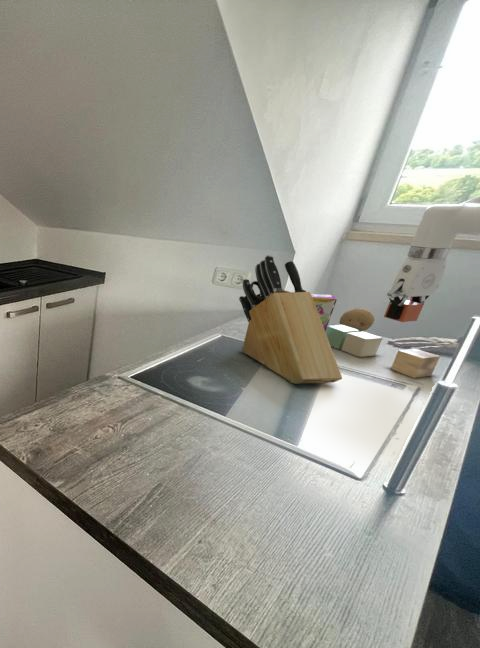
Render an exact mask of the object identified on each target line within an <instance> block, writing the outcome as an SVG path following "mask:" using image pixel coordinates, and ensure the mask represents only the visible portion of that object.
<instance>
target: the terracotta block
mask: <svg viewBox="0 0 480 648" xmlns="http://www.w3.org/2000/svg"><path fill="white" fill-rule="evenodd" d="M424 304H425V303H424ZM424 304H422V303H417V302H413V301H410V299H409V300H408V299H407V300H406V301H405V303H404V304H403V306H405V307H404V309H403V311H402V314H401V316H400V319H398V320H395V319H392V318H388V317H386V314H387V312H388V309H389V307H390V301H389V303H388V305H387V307H386V310H385V313H384V315H383V318H385V319H390V320H393V321H396V322H400V323H409V322H417V321H418V319H419V317H420V315H421V312H422V309H423V307H424Z"/></svg>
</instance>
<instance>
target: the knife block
mask: <svg viewBox="0 0 480 648" xmlns="http://www.w3.org/2000/svg"><path fill="white" fill-rule="evenodd" d="M277 267H278V266H277V265H276V263H275V260H274V256H273V255H269V254H268V255H267V254H266V256H264V259H262V260H261V261H260V262H259V263H257V264H256V265H255V268H254V271H255V277H256V280H254V281H252V282H251V283H250V279H249V278H244V279H243V280H242V288H243V289H242V290H243V293H244V295H245V296H243V295H241V296H239V298H238V300H239V302H240V304H241V307H242V310H243V313H244V316H245V317H246V320H247V322H248V324H247V328H246V332H245V337H244V340H243V346H242V348H241V352H242V353H244V354H245V355H247V356H249V357H250V358H252V359H254V360H256V361H257V362H259V363H260V364H263V365H265V367H267V368H268V369H270V370H271V371H273V372H275V373H276V374H278V375H280V376H281V377H282V378H285V379H286V380H287V381H289V382H290V383H292V384H296V385H297V384H298V385H299V384H331V383H336V382H338V381H340V380H342V379H343V376H342V374H341V371H340V368H339V365H338V362H337V360H336V357H335V354H334V352H333V349H332V346H330V343H329V340H328V338H327V335H326V332H325V330H324V327H323V324H322V322H321V319H320V317H319V314H318V311H317V309H316V306H315V303H314V301H313V298H312V296H311V294H312V293H311V292H310V291H307V290H304V289H303V288H302V281H301V277H300V274H299V271H298V268H297V266H296V264H295V262H294V261H293V260H292V261H291V260H290V261H287V262H285V264H284V269H285V271H286V272H287V274H288V277H289V280H290V282H291V284H292V286H293V288H294V291H288V290H285V289H284V288H283V287H282V280H281V275H280V272H279V270H278V268H277ZM254 285H255V286H257V288H258V290H259V293H258V294H256V293H255V290H254Z"/></svg>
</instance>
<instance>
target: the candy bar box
mask: <svg viewBox="0 0 480 648" xmlns="http://www.w3.org/2000/svg"><path fill="white" fill-rule="evenodd" d="M311 296H312V298H313V301H314V303H315V306H316V309H317V311H318V314H319V317H320V319H321V322H322V324H323V327H324V330H325V331H326V328H327V326H329V322H330V320H331V317H332V314H333V311H334V310H335V306H336V304H337V300H338V299H337V298H336V297H335V296H333V295H332V294H321V293H320V294H319V293H317V294H316V293H311Z"/></svg>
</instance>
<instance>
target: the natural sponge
mask: <svg viewBox="0 0 480 648" xmlns="http://www.w3.org/2000/svg"><path fill="white" fill-rule="evenodd" d="M374 322H375V316H374V314H373V313H372V312H371V311H370V310H368V309H366V308H363V307H356V308H352V309H349V310H347V311H345V312H344V313H343V314H342V315H341V316H340V317H339V325H345V326H348V327H351V328H354V329H357V330H360V331H359V332H362V331H363V332H367V330H368V329H370V328H371V327H372V326H373V325H374Z"/></svg>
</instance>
